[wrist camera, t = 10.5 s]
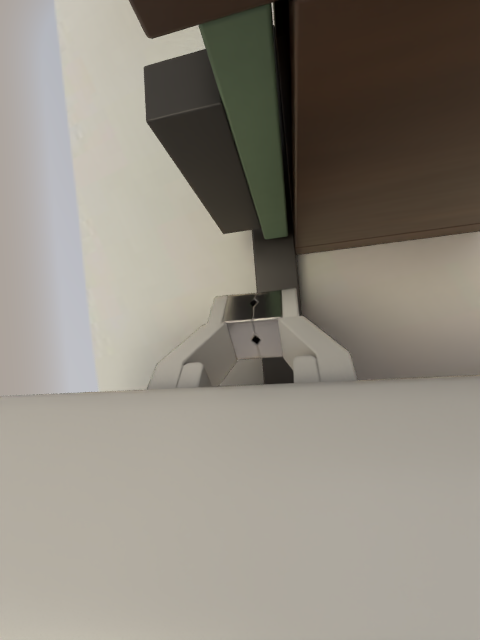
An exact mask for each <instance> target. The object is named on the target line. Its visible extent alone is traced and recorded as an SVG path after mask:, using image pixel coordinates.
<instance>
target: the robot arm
mask: <svg viewBox="0 0 480 640" xmlns="http://www.w3.org/2000/svg"><path fill="white" fill-rule="evenodd" d="M272 357H283V358H284V359H285V361H286V362H287V363H288V365H289V366H290V367H291V368H292V370H293V373H294V383H286V384H263V385H241V386H219V385H220V383H221V382H222V381H223V380H224V378H225V377H226V376H227V374H228V373H229V372H230V370H231V369H232V368H233V366H234V365H235V364H236V362H237V360H242V359H253V358H272ZM218 386H219V387H218ZM0 640H480V375H468V376H445V377H423V378H401V379H380V380H357V376H356V372H355V369H354V365H353V362H352V358H351V355H350V352H349V351H348V350H346V349H345V348H344V347H343V346H341V345H340V344H339V343H338V342H336V341H335V340H334V339H332V338H331V337H330V336H329V335H327V334H326V333H325V332H324V331H322V330H321V329H320V328H318V327H317V326H316V325H315V324H313V323H312V322H311V321H310V320H308V319H307V318H306V317H304V316H299V307H298V298H297V289H296V288H291V289H283V290H278V291H270V292H261V293H248V294H237V295H229V296H228V295H225V296H216V297H215V298H214V300H213V304H212V308H211V311H210V315H209V319H208V322H207V324H204V325H202V326H201V327H200V328H199V329H198V330H196V331H195V332H194V333H193V334H192V335H190V336H189V337H188V338H187V339H186V340H185V341H183V342H182V343H181V344H180V345H179V346H178V347H176V348H175V349H174V350H173V351H172V352H170V353H169V354H168V355H167V356H166V357H165V358H163V359H162V360H161V361H160V362H159V363H157V365H156V368H155V370H154V373H153V375H152V378H151V380H150V382H149V385H148V387H147V390H128V391H105V392H83V393H63V394H62V393H60V394H39V395H38V394H37V395H15V396H0Z"/></svg>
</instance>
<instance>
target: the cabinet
mask: <svg viewBox="0 0 480 640" xmlns="http://www.w3.org/2000/svg"><path fill="white" fill-rule="evenodd" d="M129 2H130V4H131V6H132V8H133V10H134V12H135V14H136V16H137V18H138V20H139V22H140V24H141V26H142V28H143V30H144V32H145V34H146V36H147V37H148V38H152V39H153V38H156V37H159V36H163V35H166V34H169V33H173V32H176V31H179V30H183V29H186V28H189V27H193V26H196V25H199V24H203V23H206V22H209V21H212V20H216V19H219V18H222V17H226V16H229V15H232V14H236V13H239V12H242V11H246V10H249V9H252V8H256V7H259V6H262V5H266V4H269V3H272V2H273V10H274V25H275V26H274V25H273V34H274V48H275V62H276V75H277V89H278V102H279V116H280V130H281V143H282V157H283V170H284V184H285V197H286V211H287V225H288V236H287V237H280V238H273V239H265V238H264V235H263V232H262V228H259V229H253V230H252V238H253V250H254V263H255V275H256V288H257V293H261V292H270V291H278V290H283V289H291V288H296V289H297V298H298V307H299V316H302V315H301V305H300V294H299V283H298V272H297V262H296V255H299V254H306V253H314V252H322V251H330V250H337V249H345V248H353V247H360V246H368V245H376V244H383V243H391V242H399V241H406V240H414V239H422V238H429V237H437V236H445V235H452V234H460V233H468V232H475V231H480V0H129ZM262 362H263V375H264V384H286V383H294V373H293V370H292V368H291V367H290V366H289V365H288V363H287V362H286V361H285V359H284V358H283V357H272V358H262Z"/></svg>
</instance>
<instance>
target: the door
mask: <svg viewBox="0 0 480 640" xmlns="http://www.w3.org/2000/svg"><path fill="white" fill-rule="evenodd" d="M199 28H200V32H201V35H202V38H203V41H204V44H205V48H206V49H204V50H201V51H197V52H194V53H190V54H187V55H183V56H179V57H176V58H172V59H169V60H165V61H162V62H158V63H155V64H151V65H148V66H145V67H144V83H145V103H146V121H147V123H148V125H149V126H150V128H151V129H152V131H153V132H154V134H155V135H156V136H157V138H158V139H159V141H160V142H161V144H162V145H163V147H164V148H165V150H166V151H167V152H168V154H169V155H170V157H171V158H172V160H173V161H174V163H175V164H176V166H177V167H178V168H179V170H180V171H181V173H182V174H183V176H184V177H185V179H186V180H187V182H188V183H189V185H190V186H191V187H192V189H193V190H194V192H195V193H196V195H197V196H198V198H199V199H200V201H201V202H202V203H203V205H204V206H205V208H206V209H207V211H208V212H209V214H210V215H211V217H212V218H213V219H214V221H215V222H216V224H217V225H218V227H219V228H220V230H221V231H222V233H223V234H226V233H233V232H240V231H246V230H253V229H259V228H262V232H263V235H264V238H265V239H273V238H280V237H287V236H288V225H287V211H286V197H285V184H284V170H283V157H282V143H281V130H280V116H279V102H278V89H277V75H276V62H275V48H274V34H273V21H272V7H271V3H269V4H266V5H262V6H259V7H256V8H252V9H249V10H246V11H242V12H239V13H236V14H232V15H229V16H226V17H222V18H219V19H216V20H212V21H209V22H206V23H203V24H199Z"/></svg>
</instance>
